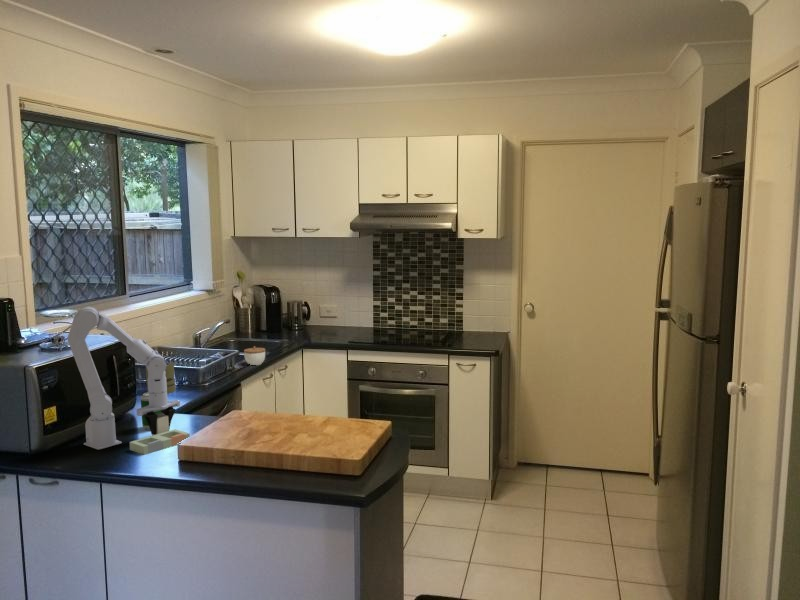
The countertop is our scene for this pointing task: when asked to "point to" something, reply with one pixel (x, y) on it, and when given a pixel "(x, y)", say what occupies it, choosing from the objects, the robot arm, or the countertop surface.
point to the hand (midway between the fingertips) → (160, 432)
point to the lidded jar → (254, 355)
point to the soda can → (144, 403)
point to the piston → (167, 378)
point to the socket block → (158, 441)
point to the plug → (162, 423)
